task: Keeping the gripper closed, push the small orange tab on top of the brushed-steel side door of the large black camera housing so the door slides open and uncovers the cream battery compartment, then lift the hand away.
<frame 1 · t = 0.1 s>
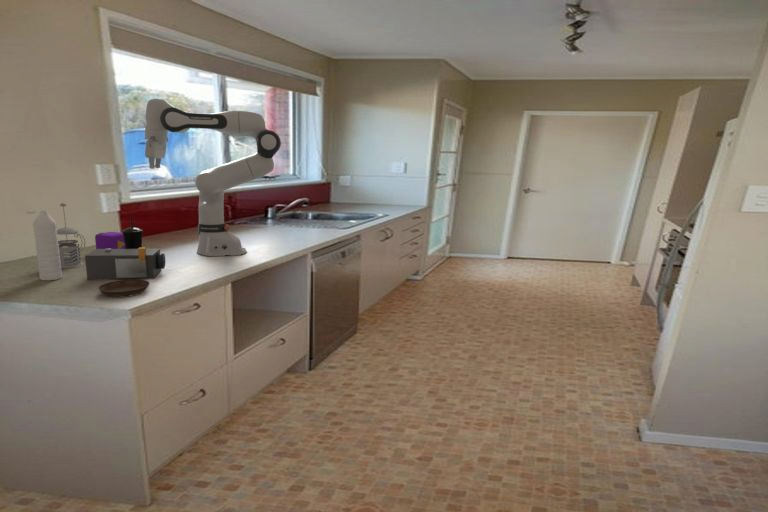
hand: (154, 168, 198), 39 cm above the worktop, tool pointing down, fingers open, 8 cm apart
saucer: (125, 293, 148), on the worktop
water bottle: (48, 279, 158), on the worktop
french press: (72, 265, 179), on the worktop
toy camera: (115, 253, 202), on the worktop
drinking cup: (134, 262, 188), on the worktop
camera housing: (126, 275, 168), on the worktop
side door: (130, 262, 160), point 7 cm above the worktop, slide at 0.0 cm
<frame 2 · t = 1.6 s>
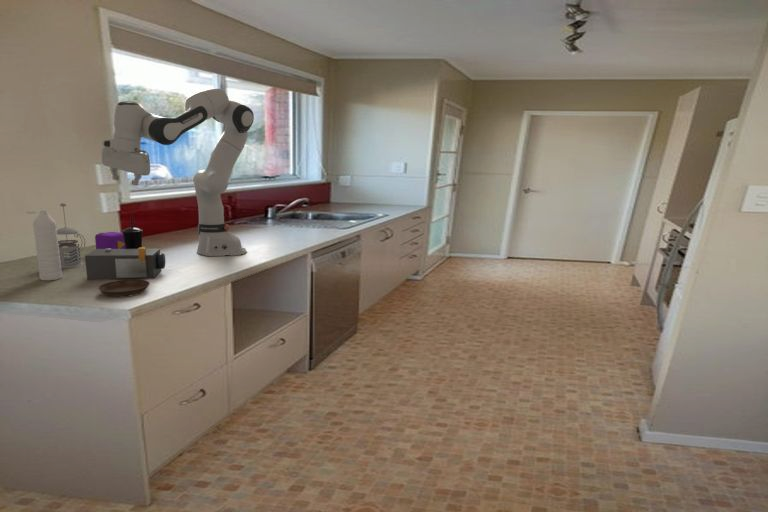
hand: (125, 182, 169), 34 cm above the worktop, tool pointing down, fingers open, 8 cm apart
nothing on the worktop moved.
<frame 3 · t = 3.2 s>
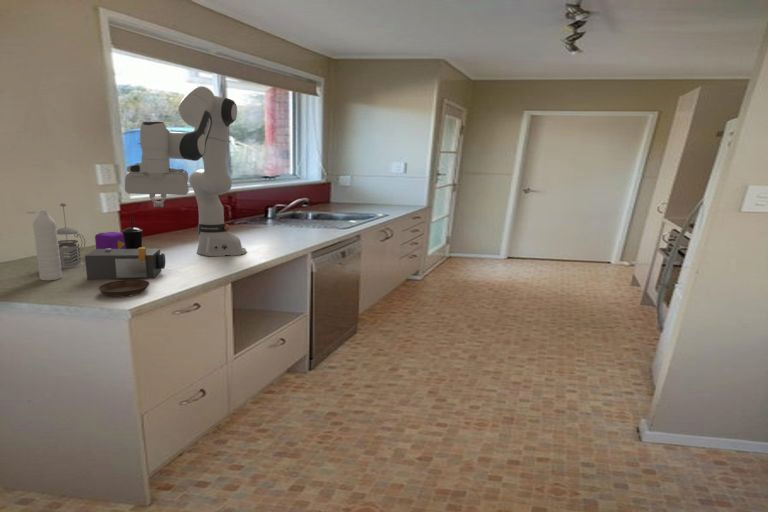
hand: (158, 206, 159), 27 cm above the worktop, tool pointing down, fingers closed
nothing on the worktop moved.
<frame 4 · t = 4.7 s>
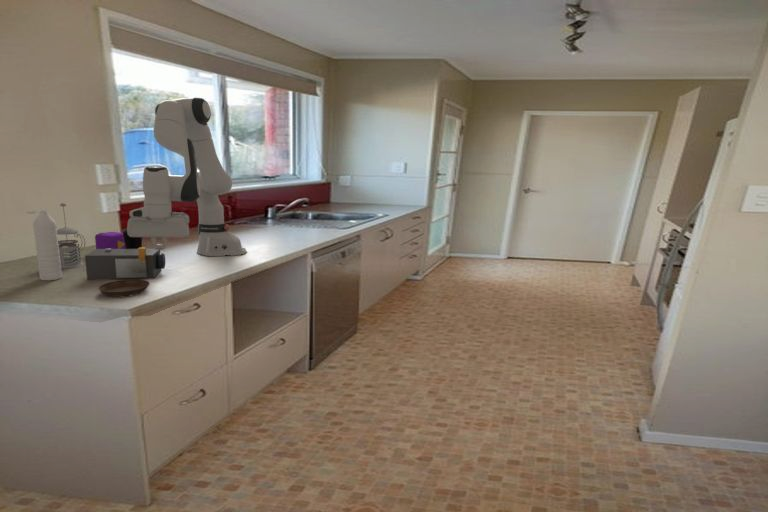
hand: (160, 249, 162), 12 cm above the worktop, tool pointing down, fingers closed
nothing on the worktop moved.
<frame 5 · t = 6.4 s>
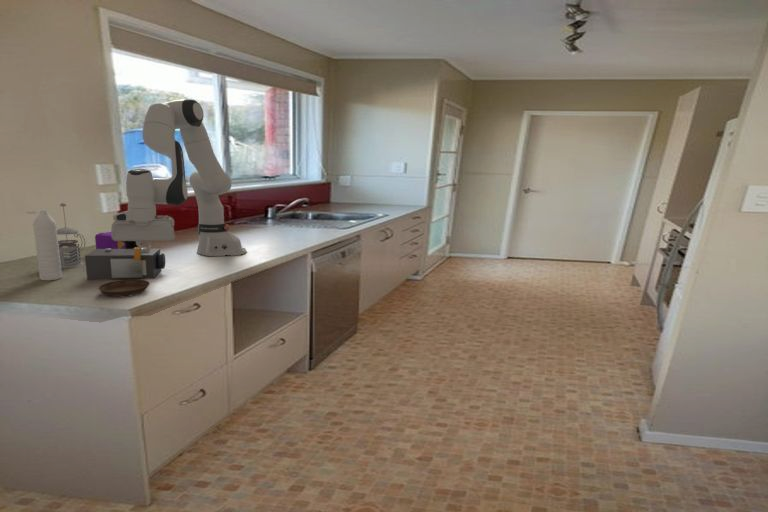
hand: (145, 252, 161), 10 cm above the worktop, tool pointing down, fingers closed
side door: (126, 262, 160), point 7 cm above the worktop, slide at 1.5 cm, touching gripper
everything else where it was.
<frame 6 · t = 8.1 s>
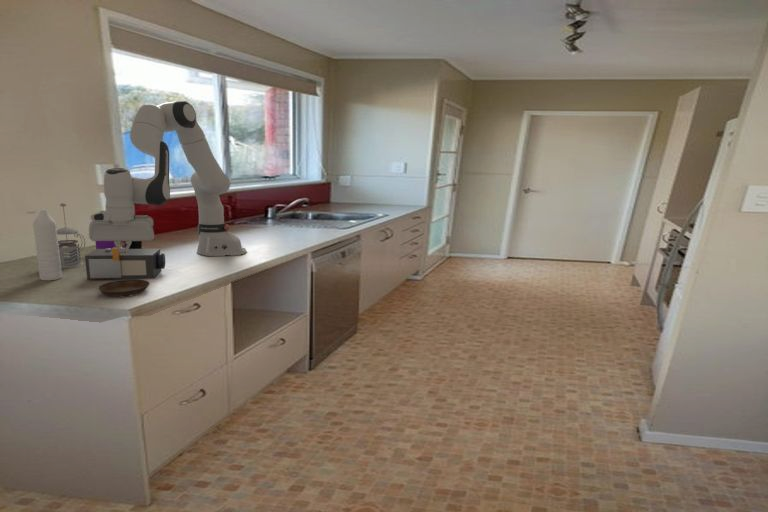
hand: (123, 252, 159), 10 cm above the worktop, tool pointing down, fingers closed
side door: (104, 263, 158), point 7 cm above the worktop, slide at 8.5 cm, touching gripper
everything else where it was.
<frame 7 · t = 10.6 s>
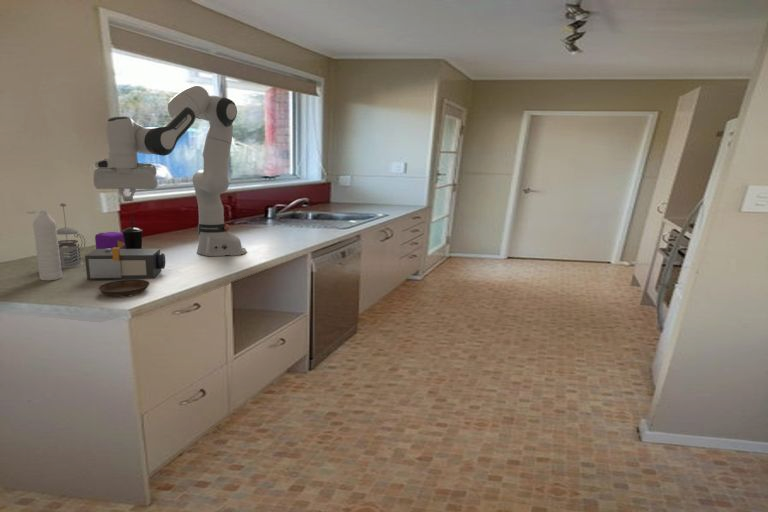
hand: (128, 201, 163), 28 cm above the worktop, tool pointing down, fingers closed
side door: (104, 263, 158), point 7 cm above the worktop, slide at 8.5 cm
everything else where it was.
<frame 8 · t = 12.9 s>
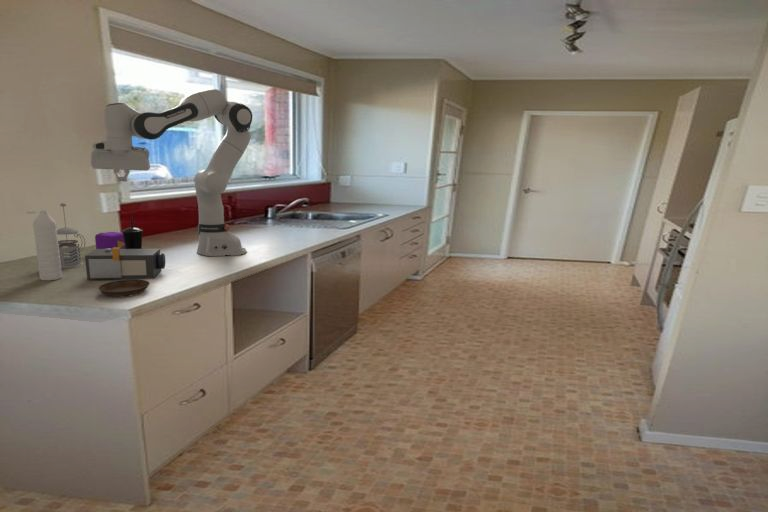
hand: (122, 181, 176), 34 cm above the worktop, tool pointing down, fingers closed
nothing on the worktop moved.
at the end: side door slide at 8.5 cm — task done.
